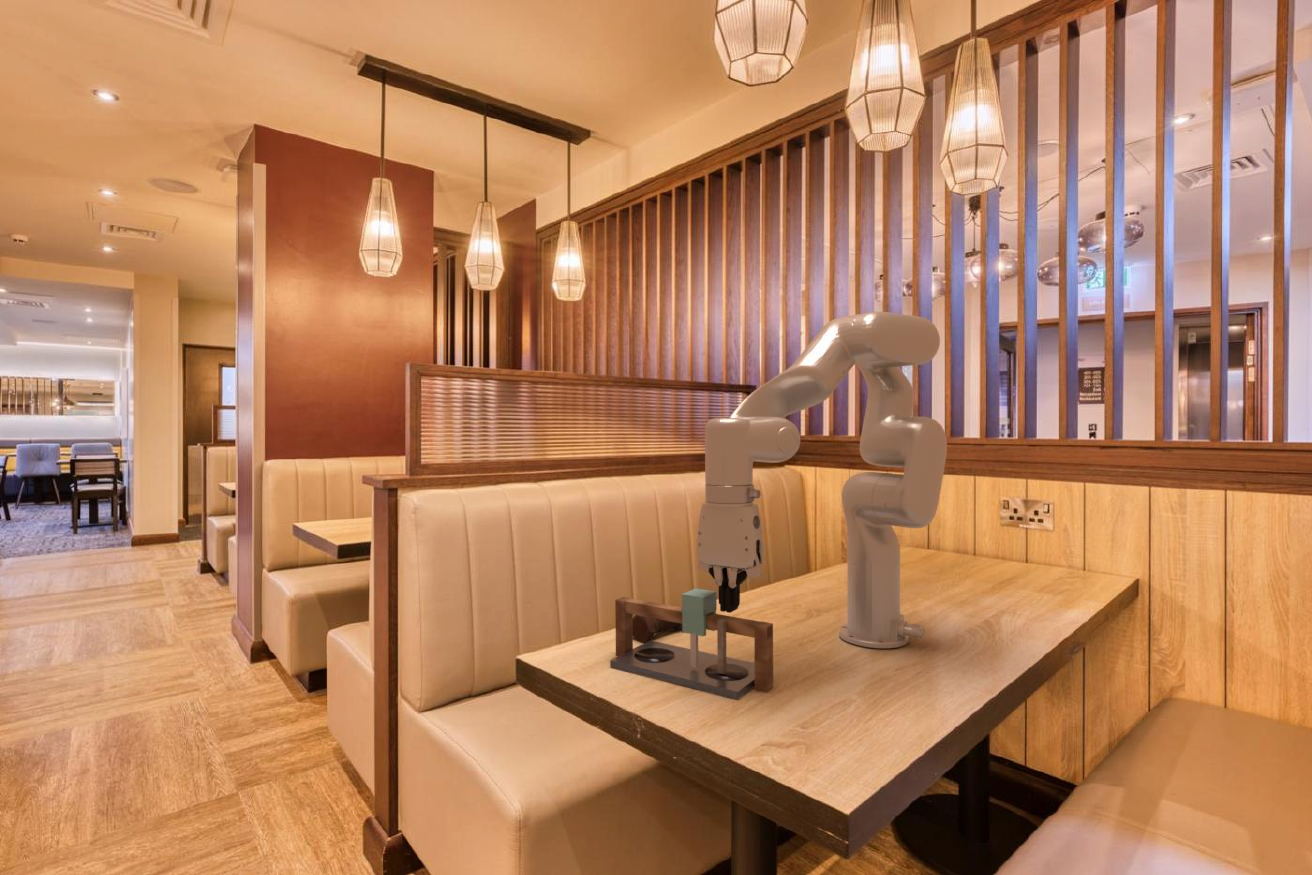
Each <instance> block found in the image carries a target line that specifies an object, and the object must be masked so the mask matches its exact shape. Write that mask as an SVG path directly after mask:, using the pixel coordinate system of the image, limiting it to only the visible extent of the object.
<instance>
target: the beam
mask: <svg viewBox="0 0 1312 875" xmlns="http://www.w3.org/2000/svg"><path fill="white" fill-rule="evenodd" d="M614 601H615V604H614V605H615V607H614V609H615V612H614V613H615V614H614V615H615V657H618V656H620V655H622V654H624V653H626V652H628V651H630V650H632V649H634V648H633V647H634V638H633V617H634V616H635V615H640V616H645V617H650V618H656V619H661V620H666V621H671V622H676V623H681V624H682V606H674V605H669V604H664V603H660V602H659V603H658V602H652V601H646V600H641V599H635V598H631V597H627V596H622V597H618V598H616V599H615V600H614ZM706 628H707V629H712V630H715V631H717V633H716V634H717V640H716V641H717V642H716V643H717V655H718V673H722V674H724V673H725V672H726V657H727V633H728V634H733V635H734V634H735V635H739V636H743V637H750V638H753V639H754V663H755V687H754V691H758V692H763V693H768V692H769V691H771V690H772V689H773V688H774V623H771V622H766V621H758V620H753V619H748V618H747V619H746V618H742V617H736V616H730V615H724V614H720V613H716V614H715V613H709V614H707V615H706ZM707 629H706V630H707ZM712 630H711V631H712Z"/></svg>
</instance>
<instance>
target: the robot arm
mask: <svg viewBox="0 0 1312 875" xmlns="http://www.w3.org/2000/svg"><path fill="white" fill-rule="evenodd" d="M940 345H941V338H940V333H939V330H938V328H937V327H936V325H935V324H934V323H933V322H932V321H931V320H929V319H928V318H925V317H923V316H917V315H911V314H910V315H909V314H903V313H895V312H888V311H868V312H862V313H857V314H851V315H846V316H842V317H841V316H840V317H838V318H837V317H836V318H835V319H832V320H830V321H828V322H827V323H826V324H825V325H824V326H823V327H822V328H820V331H818V332H817V334H816V335H815V337H814V338H813V339H812V340H811V341H810V342H809V344H808V345H807V346H806V347H805V349H804V350H802V352H801V354H800V355H799V356H798V357H797V358H796V360H794V362H793V363H792V364H791V365H790V366H789V367H788V368H787V369H785V370H783V371H782V372H780V373H779V374H777V375H776V376H774V377H773V378H771V379H770V380H768V381H767V382H766V383H763V384H762V385H761V386H759V387H758V388H756V389H755V390H753V391H752V392H751V393H750V394H749V395H748V396H746V397H745V398H744V399H743V400H742V401H741V402H740V403H739V405H738V406H737V407H736V409H734V410H733V411H732V413H731V414H730V415H729V417H717V418H711V419H709V420H708V421H707V423H706V424H705V427H704V428H705V430H704V441H705V442H704V455H705V456H704V459H705V460H704V464H705V465H704V466H705V467H704V468H705V470H704V473H705V475H704V476H705V478H704V481H705V482H704V483H705V484H704V489H705V491H704V492H705V496H704V497H705V498H704V499H705V502H703V503H701V507H700V513H699V517H698V522H697V523H698V526H697V538H696V556H697V560H698V564H697V568H698V569H699V570H700V571H703V572H706V573H708V574H709V575H710V576H711V577H712V579H714V583H715V585H716V586H717V587H718V604H719V610H720V612H723V613H725V612H726V613H729V614H730V613H733V612H735V611H736V610H738V609H739V607H740V602H741V585H742V584H743V583H744V582H745V581H746V580H747V579H752V578H753V579H754V578H757V577H759V576H761V575H762V568H761V565H762V564H763V563H764V560H765V547H764V544H765V543H764V534H763V533H764V532H763V526H762V525H763V524H762V519H761V512H760V508H759V504H756V503H754V501H755V500H756V499H760V498H761V490H760V489H756V488H755V485H754V482H753V480H754V479H753V476H754V475H753V472H754V471H753V467H754V466H753V464H754V462H759V463H769V464H771V463H772V464H773V463H778V464H779V463H782V462H785V461H788V460H790V459H791V458H793V456H795V454H796V453H797V452H798V451H799V449H800V445H801V434H800V430H799V429H798V428H797V426H796V425H795V424H794V423H793V422H792V421H790V419H787V418H785V417H787V416H789V415H792V414H795V413H798V412H801V411H804V410H806V409H809V408H812V407H815V406H816V405H819V404H821V403H823V402H824V401H826V400H827V399H829V397H831V395H833V393H834V391H835V390H836V389H837V387H838V386H839V384H840V383H841V382H843V379H844V378H845V377H846V375H847V374H848V373H849V372H850V370H851V369H852V368H853V366H855V365H857V367H858V369H859V370H860V372H861V373H862V375H863V378H864V381H865V384H866V387H867V397H866V398H867V399H866V400H867V401H866V407H865V412H864V417H863V423H862V429H861V434H860V439H859V440H860V441H859V454H860V456H861V458H862V460H863V461H865V462H866V463H867V464H869V465H873V466H877V467H888V468H901V469H904V470H903V474H901V473H891V472H890V473H889V472H877V471H876V472H875V471H864V472H863V471H862V472H859V473H855V474H853V475H852V476H850V477H849V478H848V479H847V480H846V481H845V483H844V485H843V487H842V489H841V490H842V492H841V505H842V510H843V514H844V518H845V520H844V521H845V525H846V526H845V527H846V538H847V542H846V543H847V553H846V554H847V555H846V556H847V557H846V559H847V560H846V561H847V562H846V564H847V565H846V566H847V570H846V572H847V573H846V574H847V578H846V579H847V583H846V584H847V590H846V591H847V597H846V598H847V599H846V601H847V602H846V603H847V611H846V612H847V623H846V624H843V625H841V626H840V627H839V628H838V635H839V637H840V639H842V640H843V641H845V642H847V643H848V644H849V643H850V644H852V645H856V646H858V647H864V648H871V649H895V648H900V647H903V646H906V645H907V644H909V642H910V641H909V638H910V637H912V638H917V639H924V637H925V628H924V627H921V624H918V623H908V621H905V615H904V614H901V548H900V547H901V546H900V542H899V539H898V536H897V534H896V531H895V530H894V528H893V527H899V528H900V527H901V528H907V529H922V528H926V527H927V526H929V525H930V524H931V523H932V522H933V519H934V518H935V516H936V513H937V510H938V507H939V502H940V497H941V496H940V495H941V491H942V486H943V480H944V473H945V466H946V460H947V452H948V442H947V436H946V432H945V429H944V428H943V426H942V425H941V423H940V422H938V421H937V420H936V419H934V418H931V417H929V416H928V417H927V416H913V410H914V402H915V393H914V388H913V386H912V384H911V382H910V380H909V379H908V377H907V376H906V374H905V373H904V372H903V370H902V368H901V367H908V366H918V365H919V366H920V365H924V364H927V363H929V362H930V361H932V360H933V359H934V357H935V356H936V355H937V353H938V351H939V349H940ZM729 569H730V570H729Z"/></svg>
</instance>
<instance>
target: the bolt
mask: <svg viewBox="0 0 1312 875" xmlns="http://www.w3.org/2000/svg"><path fill="white" fill-rule="evenodd" d="M671 630H672V631H675V632H682V624H681V623H676V622H671V621H666V620H661V619H656V618H650V617H645V616H640V615H635V614H634V615H633V640H635V641H637V642H639V643H642V644H644V643H646V642H648V641H650V640H651V641H653V637H654V636H655V635H657V634H660V633H664V632H667V631H671Z"/></svg>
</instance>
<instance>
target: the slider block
mask: <svg viewBox="0 0 1312 875" xmlns="http://www.w3.org/2000/svg"><path fill="white" fill-rule="evenodd" d="M681 608H682V631H681V632H682V633H685V634H689V635H690V638H689V640H690V641H689V642H690V645H689V647H690V648H689V649H690V664H691V666H692V667H697V666H698V651H699V636H700V637H706V636H707V630H708V631H712V632H714V631H715V632H716V630H712V629H707V628H706V615H707V614H709V613H715V614H717V610H718V609H717V591H714V590H710V589H709V590H708V589H702V588H696V587H695V588H692V589H691V590H689V591H686V592H684V593H681Z"/></svg>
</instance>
